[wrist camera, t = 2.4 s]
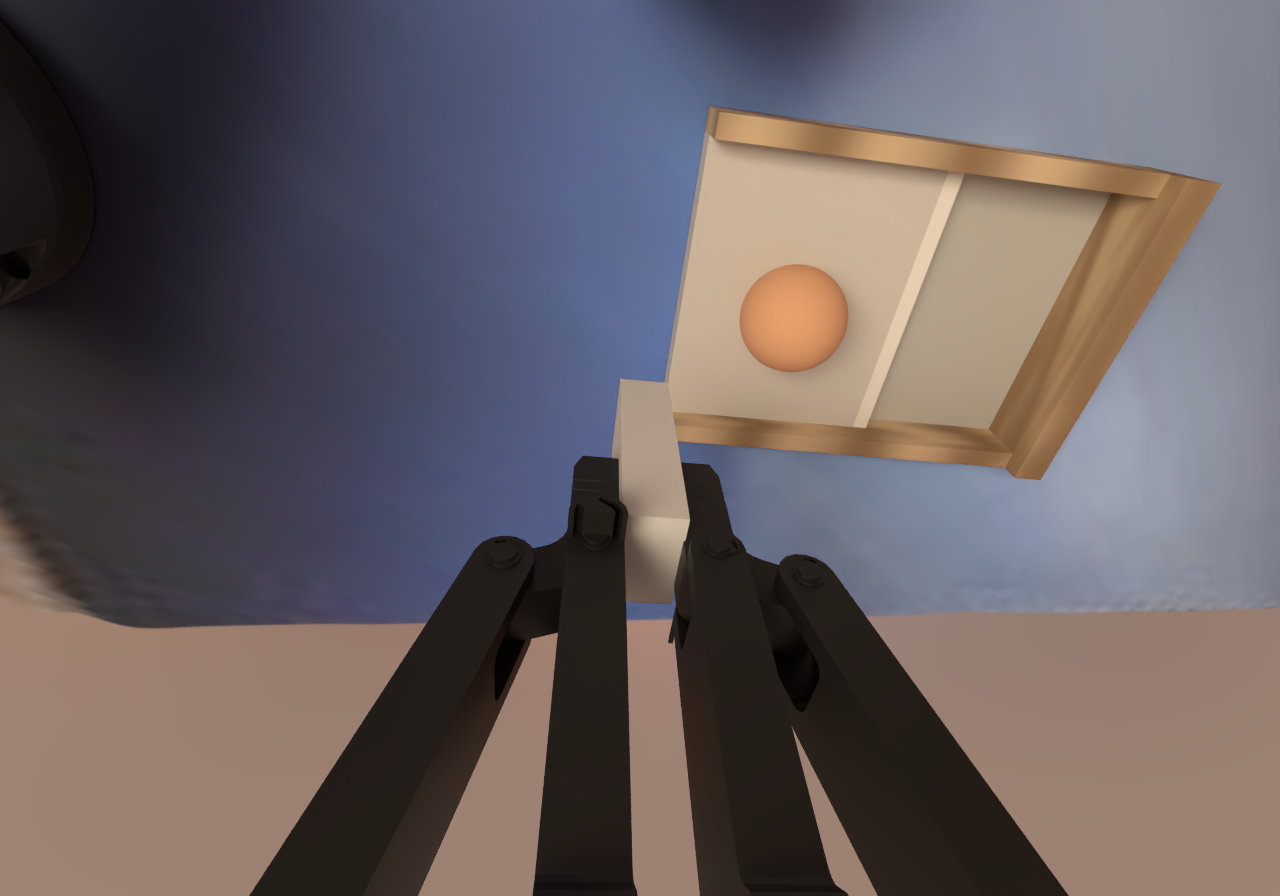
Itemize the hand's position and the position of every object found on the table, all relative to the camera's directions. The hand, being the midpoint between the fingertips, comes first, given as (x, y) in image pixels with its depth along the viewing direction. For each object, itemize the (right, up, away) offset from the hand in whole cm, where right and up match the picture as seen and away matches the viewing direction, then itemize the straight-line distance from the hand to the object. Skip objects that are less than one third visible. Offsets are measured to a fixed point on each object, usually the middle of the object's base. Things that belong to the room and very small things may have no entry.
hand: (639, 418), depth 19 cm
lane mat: (+13, +7, +13) cm, 20 cm away
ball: (+7, +5, +9) cm, 13 cm away
